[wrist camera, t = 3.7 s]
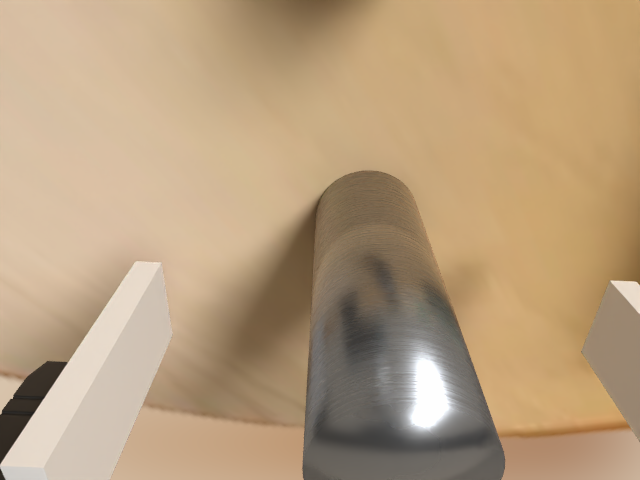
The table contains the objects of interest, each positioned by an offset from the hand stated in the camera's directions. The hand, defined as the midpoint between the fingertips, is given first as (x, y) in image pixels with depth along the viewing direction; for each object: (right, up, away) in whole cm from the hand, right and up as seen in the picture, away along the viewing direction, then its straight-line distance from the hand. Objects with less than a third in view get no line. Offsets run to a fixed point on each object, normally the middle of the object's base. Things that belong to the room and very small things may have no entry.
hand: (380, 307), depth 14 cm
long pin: (0, +3, +5) cm, 6 cm away
